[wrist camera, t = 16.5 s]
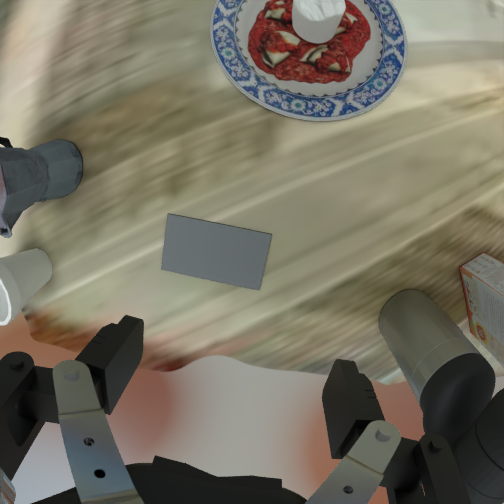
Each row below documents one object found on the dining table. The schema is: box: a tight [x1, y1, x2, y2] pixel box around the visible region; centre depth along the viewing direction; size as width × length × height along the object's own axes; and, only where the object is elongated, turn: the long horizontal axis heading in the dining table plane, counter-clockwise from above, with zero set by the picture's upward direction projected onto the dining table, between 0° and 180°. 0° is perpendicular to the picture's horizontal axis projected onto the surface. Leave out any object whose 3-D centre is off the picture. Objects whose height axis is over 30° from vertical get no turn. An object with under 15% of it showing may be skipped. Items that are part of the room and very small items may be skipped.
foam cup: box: [0, 248, 53, 325], centre depth 39 cm, size 10×9×13 cm
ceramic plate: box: [210, 0, 408, 121], centre depth 32 cm, size 26×26×3 cm
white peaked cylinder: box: [292, 0, 346, 44], centre depth 25 cm, size 6×12×6 cm
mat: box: [161, 214, 272, 290], centre depth 43 cm, size 14×8×1 cm, turn 79°
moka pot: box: [0, 137, 83, 238], centre depth 31 cm, size 10×15×20 cm, turn 37°
